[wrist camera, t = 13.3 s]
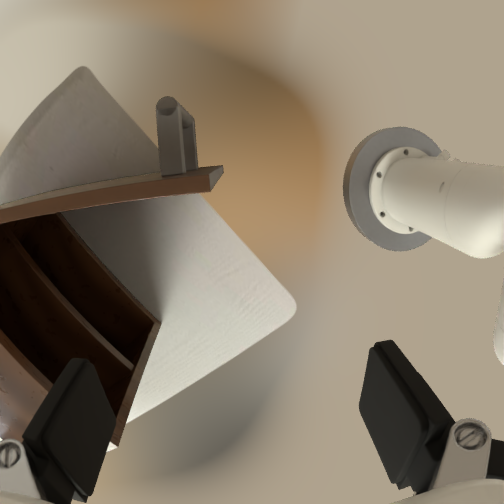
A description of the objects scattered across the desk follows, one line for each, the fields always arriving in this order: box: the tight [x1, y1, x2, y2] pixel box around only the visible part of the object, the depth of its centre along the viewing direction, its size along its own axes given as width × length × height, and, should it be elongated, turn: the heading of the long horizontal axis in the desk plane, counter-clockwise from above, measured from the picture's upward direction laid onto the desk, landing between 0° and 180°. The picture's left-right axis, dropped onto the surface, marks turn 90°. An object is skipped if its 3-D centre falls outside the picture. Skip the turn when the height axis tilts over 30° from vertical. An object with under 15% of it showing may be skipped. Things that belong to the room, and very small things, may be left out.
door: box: [0, 96, 224, 224], centre depth 27 cm, size 7×26×24 cm, turn 94°
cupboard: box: [0, 212, 161, 452], centre depth 32 cm, size 18×26×24 cm
